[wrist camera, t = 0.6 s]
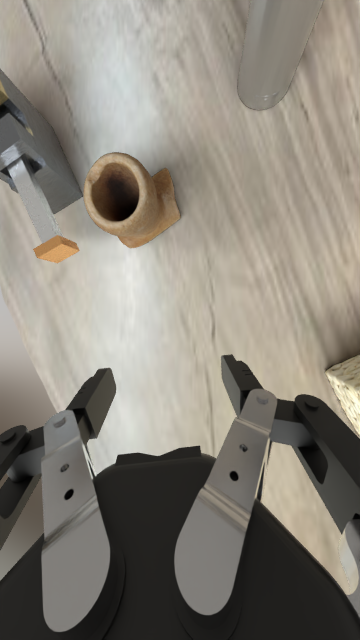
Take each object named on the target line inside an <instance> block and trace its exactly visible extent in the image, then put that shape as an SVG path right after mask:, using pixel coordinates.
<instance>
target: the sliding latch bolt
mask: <svg viewBox="0 0 360 640" xmlns="http://www.w3.org/2000/svg"><path fill="white" fill-rule="evenodd" d="M7 169H8V171H9V173H10V175H11V177H12V179H13V181H14V184H15V186H16V188H17V190H18V192H19V194H20V197H21V199H22V201H23V203H24V205H25V207H26V209H27V212H28V214H29V216H30V218H31V220H32V222H33V225H34V227H35V229H36V231H37V233H38V235H39V237H40V240H41V242H42V244H41V245H40V246H38V247H36V248H34V249H33V250H34V252H35V254H36V256H37V258H40V259H43V260H47V261H51V262H55V263H59V262H61V261H62V260H64V259H66V258H68V257H70V256H71V255H73V254H75V253H77V252H79V248H78V246H77V244H76V243H75V242H73V241H70V240H68V239H66V238H64V237H63V235H62V233H61V230H60V228H59V226H58V224H57V222H56V220H55V217H54V215H53V213H52V211H51V209H50V206H49V204H48V202H47V200H46V198H45V196H44V193H43V191H42V189H41V187H40V185H39V182H38V180H37V178H36V176H35V174H34V171H33V169H32V167H31V165H30V163H29V161H28V158H27V156H26V154H23V155H21V156H20V157H19V158H17V159H16V160H14V161H13V162H12V163H10V164H9V165H8V166H7Z"/></svg>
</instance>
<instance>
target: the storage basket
mask: <svg viewBox="0 0 360 640" xmlns="http://www.w3.org/2000/svg"><path fill="white" fill-rule="evenodd" d="M326 376H327V377H328V379H329V381H330V384H331V385H332V387H333V388H334V391H335V394H336V396H337V397H338V398H339V399H340V403H341V406H342V408H343V409H344V410H345V412H346V414H347V416H348V418H349V420H350V421H351V422H352V424H353V426H354V428H355V430H356V431H357V432H358V434H359V436H360V354H359V355H357V356H355V357H354V358H351V359H348V360H346V361H344V362H342V363H340V364H336V365H334V366H333V367H331V368H330V369H328V370H326Z"/></svg>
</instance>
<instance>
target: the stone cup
mask: <svg viewBox="0 0 360 640" xmlns="http://www.w3.org/2000/svg"><path fill="white" fill-rule="evenodd" d="M84 202H85V206H86V209H87V211H88V214H89V215H90V217H91V219H92V220H93V221H94V222H95V224H96V225H98V226H99V227H100V228H101V229H103V230H104V231H106V232H108V233H110V234H112V235H116V236H118V238H119V239H120V241H121V242H122V243H123V244H125V245H126V246H127V247H129V248H136V247H139V246H142V245H144V244H146V243H147V242H149V241H151V240H152V239H153V238H155V237H156V236H158V235H159V234H160V233H162V232H163V231H164V230H166V229H167V228H168V227H170V226H171V225H172V224H174V223H175V222H176V221H178V220H179V219H180V218H181V216H180V212H179V210H178V207H177V204H176V199H175V197H174V185H173V182H172V179H171V176H170V173H169V171H168V169H166V168H164V169H163V170H161V171H160V172H158V173H157V174H155V175H154V176H153V177H151V176H150V174H149V173H148V171H147V170H146V169H145V168H144V166H143V165H142V164H141V163H140V162H139V161H138V160H137V159H135V158H134V157H132V156H130V155H128V154H124V153H119V152H114V153H109V154H106V155H104V156H102V157H100V158H99V159H98V160H97V161H96V162H95V163H94V165H93V166H92V168H91V169H90V171H89V172H88V174H87V177H86V180H85V184H84Z"/></svg>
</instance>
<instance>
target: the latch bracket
mask: <svg viewBox="0 0 360 640" xmlns="http://www.w3.org/2000/svg"><path fill="white" fill-rule="evenodd" d="M23 154H26V156H27V158H28V161H29V163H30V165H31V167H32V169H33V171H34V174H35V176H36V178H37V180H38V182H39V185H40V187H41V189H42V191H43V193H44V196H45V198H46V200H47V202H48V204H49V206H50V209H51V211H52V213H53V214H55V213H57V212H59V211H60V210H62V209H63V208H65V207H67V206H68V205H70V204H72V203H73V202H75V201H76V200H78V199H80V198H81V197H83V195H82V193H81V191H80V188H79V186H78V184H77V182H76V180H75V177H74V175H73V173H72V171H71V168H70V166H69V164H68V162H67V159H66V157H65V155H64V153H63V150H62V148H61V146H60V144H59V141H58V139H57V137H56V135H55V132H54V130H53V128H52V127H51V126H50V125H49V123H48V122H47V121H46V120H45V119H44V118H43V117H42V116H41V114H40V113H39V112H38V111H37V110H36V109H35V108H34V106H33V105H32V104H31V103H30V102H29V101H28V100H27V98H26V97H25V96H24V95H23V94H22V93H21V92H20V91H19V89H18V88H17V87H16V86H15V85H14V84H13V83H12V81H11V80H10V79H9V78H8V77H7V76H6V75H5V73H4V72H3V71H2V70H1V69H0V179H1V180H3V181H5V182H6V183H8V184H9V185H10V187H11V189H12V190H13V191H15V192H17V193H19V192H18V190H17V188H16V186H15V184H14V181H13V179H12V177H11V175H10V173H9V171H8V169H7V166H8V165H9V164H10V163H12V162H13V161H14V160H16V159H17V158H19V157H20V156H21V155H23Z"/></svg>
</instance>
